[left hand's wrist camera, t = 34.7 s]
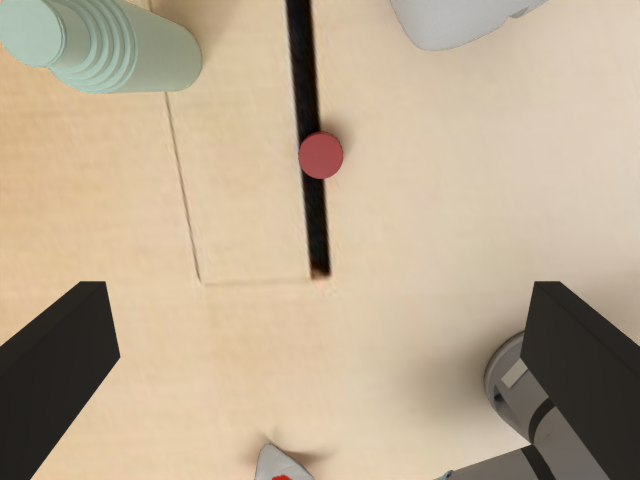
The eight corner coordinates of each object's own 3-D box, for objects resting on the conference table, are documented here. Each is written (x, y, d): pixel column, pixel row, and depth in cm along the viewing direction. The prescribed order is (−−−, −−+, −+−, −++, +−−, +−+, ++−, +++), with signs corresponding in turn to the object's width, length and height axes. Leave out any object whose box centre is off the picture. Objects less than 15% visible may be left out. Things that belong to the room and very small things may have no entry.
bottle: (151, 97, 43) (1, 108, 23) (127, 30, 40) (-62, -24, 20) (210, 82, 42) (111, 79, 22) (189, 14, 40) (58, -59, 20)
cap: (337, 178, 46) (338, 183, 43) (295, 169, 45) (294, 174, 43) (346, 136, 44) (348, 138, 42) (303, 126, 44) (302, 129, 41)
